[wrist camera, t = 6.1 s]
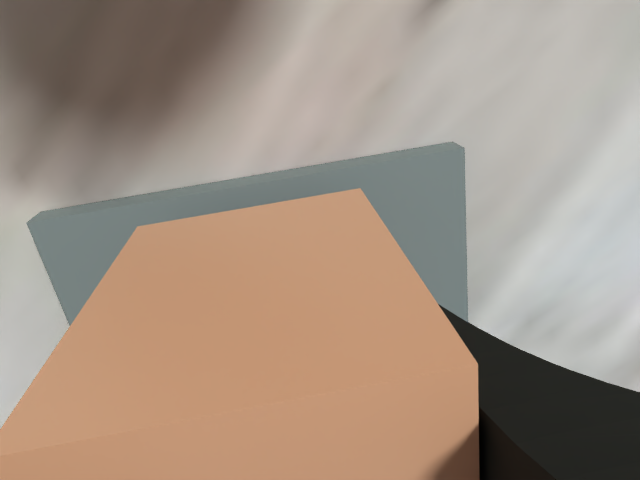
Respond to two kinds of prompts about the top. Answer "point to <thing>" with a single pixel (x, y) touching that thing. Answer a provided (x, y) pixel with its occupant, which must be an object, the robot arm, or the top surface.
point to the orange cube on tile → (254, 359)
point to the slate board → (365, 172)
